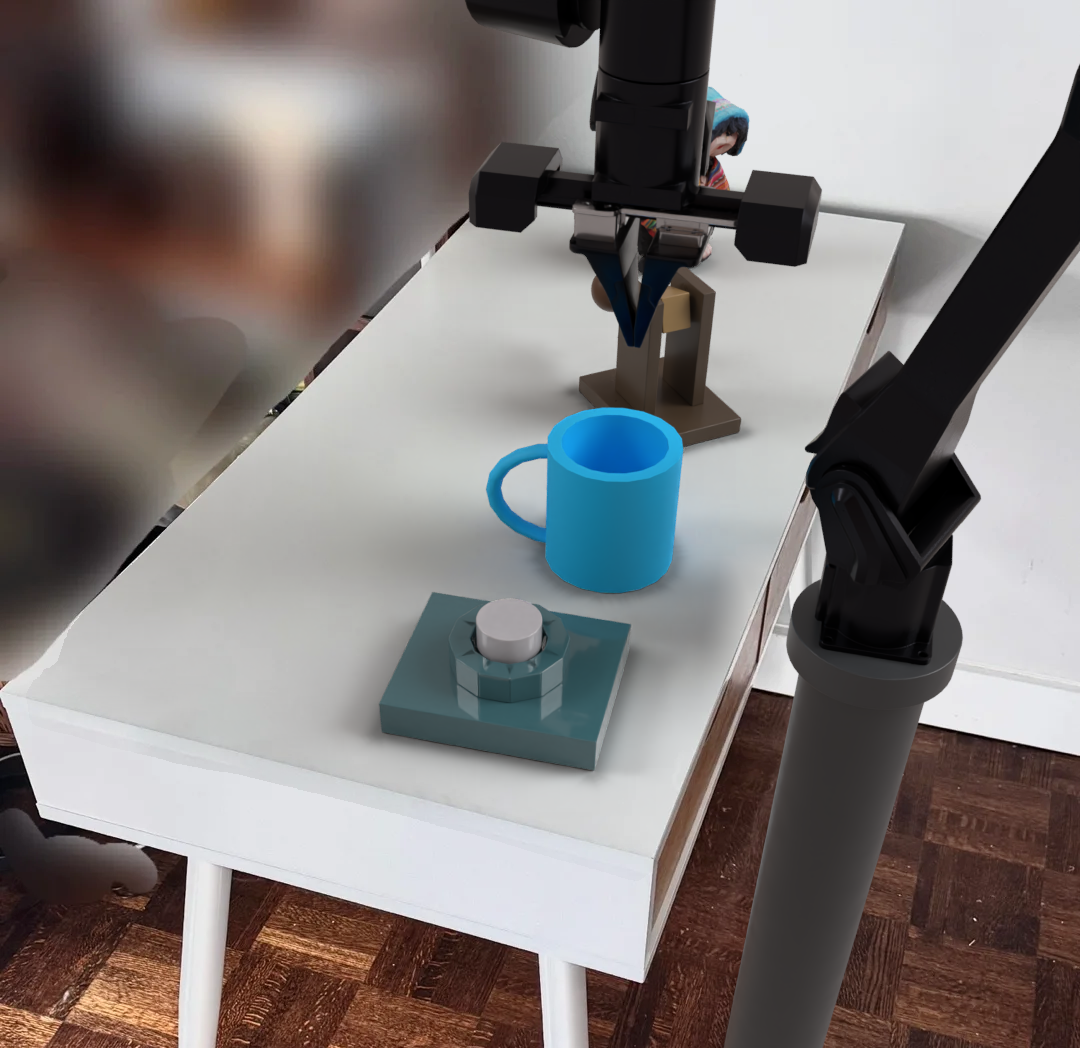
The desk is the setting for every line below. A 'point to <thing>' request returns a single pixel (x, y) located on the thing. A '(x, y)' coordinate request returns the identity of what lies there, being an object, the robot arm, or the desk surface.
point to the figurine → (725, 139)
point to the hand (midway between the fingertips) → (635, 344)
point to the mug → (603, 498)
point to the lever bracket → (669, 372)
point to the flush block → (508, 686)
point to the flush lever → (673, 300)
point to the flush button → (509, 630)
